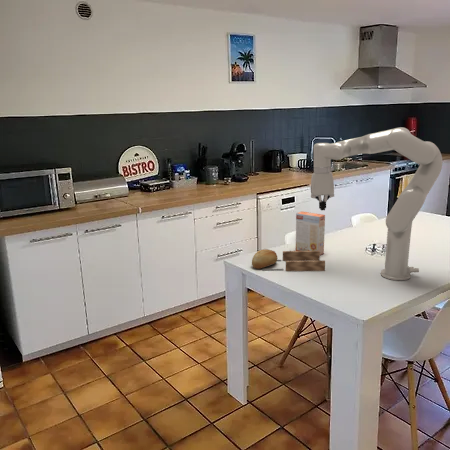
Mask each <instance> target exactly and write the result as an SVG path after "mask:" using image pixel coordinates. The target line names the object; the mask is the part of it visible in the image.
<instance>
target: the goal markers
mask: <svg viewBox="0 0 450 450" xmlns="http://www.w3.org/2000/svg"><path fill="white" fill-rule="evenodd" d="M277 262H282V259H277ZM261 270H262V271H263V272H265V271H268V272H269V271H271V272H272V271H284V270H285V269H284V268H261Z"/></svg>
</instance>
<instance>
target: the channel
mask: <svg viewBox="0 0 450 450" xmlns="http://www.w3.org/2000/svg"><path fill="white" fill-rule="evenodd" d="M320 256H321V255H320V251H296V250H282V261H283V262H284V261H285V272H322V271H324V272H325V271H326V260H324V259H323V260H320V258H321V257H320Z"/></svg>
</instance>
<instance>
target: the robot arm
mask: <svg viewBox="0 0 450 450" xmlns="http://www.w3.org/2000/svg"><path fill="white" fill-rule="evenodd" d="M389 151H396V152H397V153H398V154H400V155H402V156H404V157H405V158H407V159H409V160H410V161H412V162H414V163H416V164H417V165H419V166H418V168H417V170H416V171H415V173H414V175H413V176H412V178H411V179H410V181H409V183H408V184H407V186H406V187H404V188H403V190H402V191H401V192H400V195H399V196H398V198H397V199H396V201H395V203H394V205H393V206H392V208H390V210H389V212H388V213H387V215H386V218H385V226H386V228H387V232H386V233H387V234H386V247H385V257H384V258H385V260H384V268H383V269H381V271H380V275H381V276H382V277H383V278H385V279H388V280H391V281H393V280H394V281H407V280H409V279H411V277H412V276H411V274H412V273H419V272H420V268H418V267H414V266H409V257H410V247H411V234H412V227H413V221H414V219H415V218H417V217H416V216H417V215H418V214H419V212H420V210H421V209H422V208H423V206H424V205H425V202H426V199H427V196H428V195H429V193H430V191H431V190H432V188H433V186H434V184H435V183H436V181H437V179H438V178H439V176H440V174H441V172H442V169H443V156H442V153H441V151H440V149H439V147H438V146H437V145H436V144H435V143H433V142H432V141H426V140H425V141H424V140H422V139H420V138H419V137H416V136H415V135H413V134H412V133H411V132H410V130H409V129H408V128H406V127H401V126H400V127H395V128H391V129H387V130H381V131H378V132H377V131H376V132H373V133H368V134H365V135H363V136H359V137H354V138H350V139H345V140H339V141H337V142H332V143H329V142H317V143H315V144H314V145H313V173H311V179H310V198H312V199H316V200H317V201H318V206H319V208H318V209H320V211H325V210H326V209H327V202H328V200H329V199H330V198H333V197H335V183H334V176H333V173H332V172H333V171H335V167H334V166H332V165H331V163H332V162H331V160H335V161H338V160H339V161H340V160H342V159H344V158H347V157H352V156H357V155H361V154H362V155H363V154H367V155H368V154H369V155H371V154H372V155H373V154H377V153H383V152H389ZM322 196H323V199H322Z"/></svg>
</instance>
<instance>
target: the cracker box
mask: <svg viewBox="0 0 450 450" xmlns="http://www.w3.org/2000/svg"><path fill="white" fill-rule="evenodd" d="M325 224H326V215H325V214H320V213H315V212H307V211H299V212H296V214H295V251H320V256H321V255H323V254H324V252H325V231H326V229H325V227H326V225H325Z"/></svg>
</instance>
